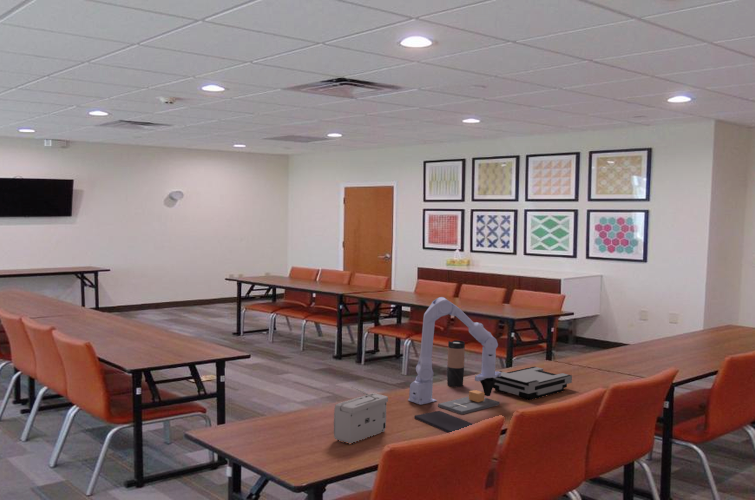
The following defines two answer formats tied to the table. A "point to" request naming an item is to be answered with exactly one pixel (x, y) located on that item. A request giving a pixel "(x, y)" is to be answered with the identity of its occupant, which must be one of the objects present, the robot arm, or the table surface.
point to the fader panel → (467, 405)
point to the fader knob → (476, 396)
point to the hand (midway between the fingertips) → (487, 395)
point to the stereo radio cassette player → (360, 417)
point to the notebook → (442, 421)
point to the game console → (531, 382)
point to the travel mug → (455, 363)
